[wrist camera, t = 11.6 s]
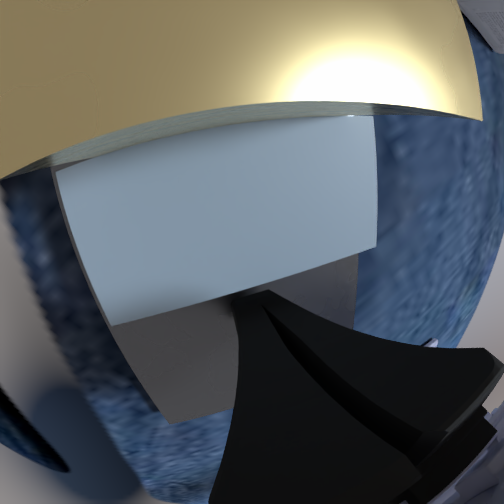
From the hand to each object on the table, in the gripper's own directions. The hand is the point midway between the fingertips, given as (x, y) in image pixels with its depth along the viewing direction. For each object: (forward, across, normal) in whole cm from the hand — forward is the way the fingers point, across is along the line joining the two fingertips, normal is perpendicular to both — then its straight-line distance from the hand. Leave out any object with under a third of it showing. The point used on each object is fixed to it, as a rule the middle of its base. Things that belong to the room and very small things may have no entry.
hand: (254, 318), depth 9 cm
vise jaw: (+1, 0, -4) cm, 4 cm away
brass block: (+1, 0, -8) cm, 8 cm away
